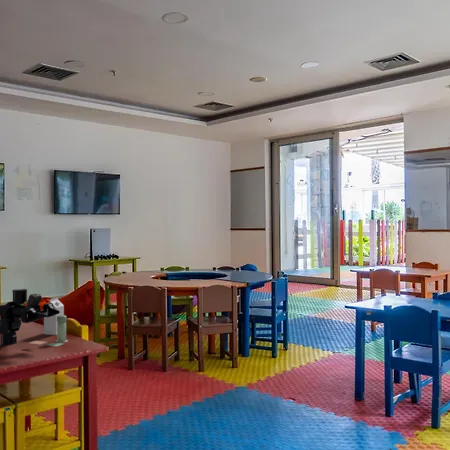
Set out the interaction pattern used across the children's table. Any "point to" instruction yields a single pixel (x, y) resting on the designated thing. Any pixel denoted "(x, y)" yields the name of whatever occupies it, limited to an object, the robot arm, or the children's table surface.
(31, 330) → the children's table surface
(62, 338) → the green joystick knob
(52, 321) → the milk carton
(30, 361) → the children's table surface
